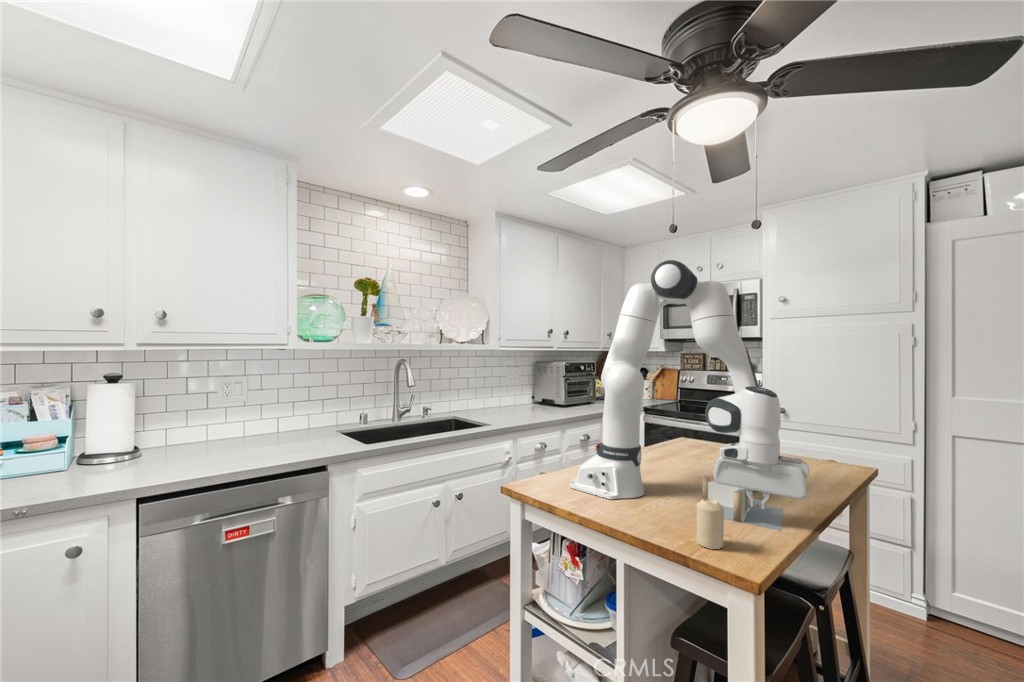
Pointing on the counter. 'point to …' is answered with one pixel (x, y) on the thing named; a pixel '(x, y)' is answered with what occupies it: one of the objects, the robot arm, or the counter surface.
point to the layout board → (758, 516)
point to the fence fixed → (719, 492)
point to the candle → (710, 523)
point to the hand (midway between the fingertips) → (757, 508)
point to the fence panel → (738, 504)
